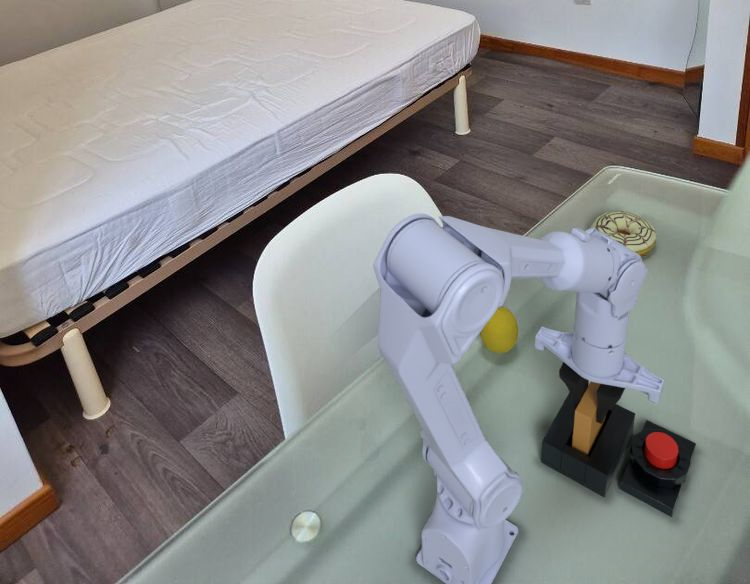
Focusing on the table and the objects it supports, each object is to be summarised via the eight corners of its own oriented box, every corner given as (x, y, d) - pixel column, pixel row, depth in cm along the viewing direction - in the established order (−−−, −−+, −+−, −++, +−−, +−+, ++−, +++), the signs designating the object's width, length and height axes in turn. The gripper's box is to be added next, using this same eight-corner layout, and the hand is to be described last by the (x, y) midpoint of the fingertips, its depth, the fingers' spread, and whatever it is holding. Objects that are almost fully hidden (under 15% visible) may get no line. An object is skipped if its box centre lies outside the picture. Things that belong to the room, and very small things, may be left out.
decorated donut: (577, 239, 122) (578, 222, 121) (618, 217, 127) (620, 200, 125) (624, 271, 114) (627, 253, 112) (667, 246, 119) (669, 229, 117)
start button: (671, 474, 80) (673, 465, 79) (640, 458, 82) (641, 449, 81) (680, 451, 82) (682, 441, 82) (649, 436, 84) (651, 426, 84)
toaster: (604, 498, 81) (607, 476, 79) (540, 462, 85) (542, 441, 83) (632, 434, 88) (635, 413, 86) (572, 404, 92) (574, 383, 90)
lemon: (517, 367, 98) (518, 325, 95) (478, 362, 99) (478, 321, 96) (517, 337, 103) (519, 297, 100) (480, 333, 104) (480, 293, 101)
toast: (587, 455, 82) (591, 418, 80) (571, 447, 84) (575, 410, 81) (605, 419, 87) (609, 382, 84) (590, 411, 88) (593, 375, 85)
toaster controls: (673, 519, 78) (677, 502, 77) (616, 487, 82) (619, 471, 80) (696, 451, 85) (700, 435, 84) (643, 425, 89) (645, 409, 87)
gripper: (677, 332, 76) (662, 416, 82) (553, 283, 84) (548, 363, 90) (658, 376, 71) (644, 462, 77) (528, 320, 79) (525, 401, 85)
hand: (591, 411), depth 83 cm, fingers closed on toast, 2 cm apart
